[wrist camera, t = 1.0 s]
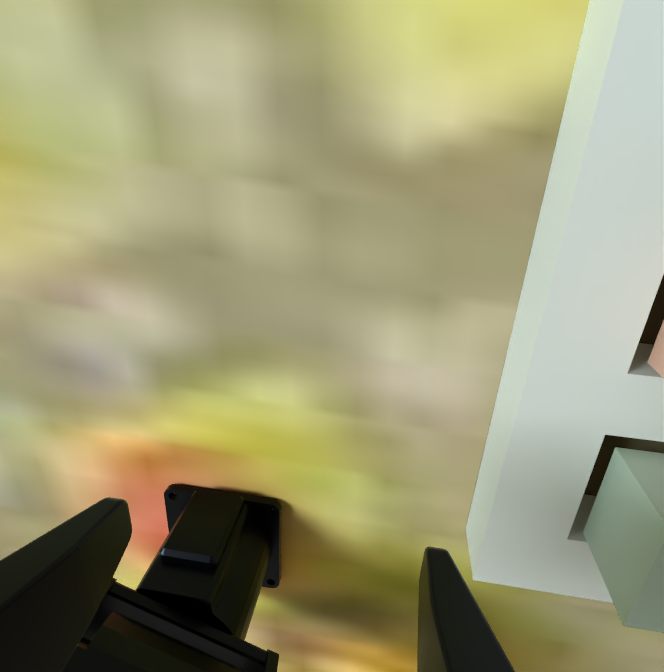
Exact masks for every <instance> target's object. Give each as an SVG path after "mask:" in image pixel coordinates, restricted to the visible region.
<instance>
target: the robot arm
mask: <svg viewBox="0 0 664 672" xmlns="http://www.w3.org/2000/svg"><path fill="white" fill-rule="evenodd" d="M174 493H175V494H174ZM164 498H165V505H166V513H167V521H168V528H169V534H168V536H167V538H166V539H165V541H164V543H163V544H162V546H161V548H160V550H159V551H158V553H157V555H156V556H155V558H154V560H153V561H152V563H151V565H150V567H149V568H148V570H147V572H146V573H145V575H144V577H143V578H142V580H141V582H140V584H139V585H138V587H137V589H136V590H133V589H131V588H129V587H126V586H124V585H122V584H120V583H118V582H116V580H117V579H115V578H113V575H114V573H115V571H116V569H117V567H118V565H119V562H120V560H121V558H122V556H123V554H124V552H125V550H126V547H127V545H128V543H129V541H130V538H131V534H132V525H131V519H130V514H129V508H128V504H127V502H126V501H125V500H123V499H117V498H110V497H109V498H105V499H102V500H101V501H99V502H97V503H96V504H94V505H92V506H91V507H89V508H87V509H86V510H84V511H82V512H81V513H79V514H77V515H76V516H74V517H72V518H71V519H69V520H67V521H66V522H64V523H62V524H61V525H59V526H57V527H56V528H54V529H52V530H51V531H49V532H47V533H46V534H44V535H42V536H41V537H39V538H37V539H36V540H34V541H32V542H30V543H29V544H27V545H25V546H24V547H22V548H20V549H19V550H17V551H15V552H14V553H12V554H10V555H9V556H7V557H5V558H4V559H2V560H0V672H277V666H278V659H279V654H278V653H275V652H273V651H271V650H269V649H268V650H267V651H265V650H263V649H261V648H259V647H257V646H255V645H252V644H250V643H248V642H246V641H244V640H245V637H246V634H247V631H248V628H249V624H250V621H251V618H252V615H253V612H254V609H255V606H256V602H257V599H258V596H259V593H260V590H261V587H262V586H263V587H268V588H276V587H278V586H279V582H280V579H281V504H280V503H279V502H278V501H277V500H274V499H270V498H263V497H256V496H250V495H243V494H237V493H230V492H223V491H217V490H210V489H204V488H197V487H191V486H184V485H177V484H171V485H169V486H168V488H167V489H166V491H165V492H164ZM270 508H272V509H273V510H272V509H270ZM418 672H515V671H514V669H513V667H512V666H511V664H510V662H509V660H508V658H507V657H506V655H505V653H504V651H503V649H502V648H501V646H500V644H499V642H498V640H497V639H496V637H495V635H494V633H493V631H492V630H491V628H490V626H489V624H488V622H487V621H486V619H485V617H484V615H483V613H482V612H481V610H480V608H479V606H478V604H477V603H476V601H475V599H474V597H473V595H472V594H471V592H470V590H469V588H468V586H467V585H466V583H465V581H464V579H463V577H462V576H461V574H460V572H459V570H458V568H457V567H456V565H455V563H454V561H453V559H452V558H451V556H450V554H449V552H448V551H447V550H445V549H441V548H434V547H427V548H426V549H425V551H424V556H423V562H422V567H421V573H420V579H419V607H418Z"/></svg>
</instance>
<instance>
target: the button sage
mask: <svg viewBox="0 0 664 672" xmlns="http://www.w3.org/2000/svg"><path fill="white" fill-rule="evenodd" d="M583 534H584V536H585V539H586V541H587V543H588V546H589V548H590V550H591V552H592V555H593V557H594V559H595V562H596V564H597V566H598V569H599V571H600V573H601V575H602V578H603V580H604V582H605V585H606V587H607V589H608V592H609V594H610V596H611V599H612V601H613V603H614V605H615V608H616V610H617V612H618V615H619V617H620V619H621V622H622V624H623V626H627V627H633V628H639V629H645V630H651V631H656V632H662V633H664V453H657V452H649V451H641V450H633V449H625V448H618V447H615V449H614V452H613V455H612V457H611V460H610V462H609V465H608V468H607V470H606V473H605V476H604V478H603V481H602V483H601V486H600V489H599V491H598V494H597V497H596V499H595V502H594V505H593V507H592V510H591V512H590V515H589V518H588V520H587V523H586V526H585V528H584V531H583Z"/></svg>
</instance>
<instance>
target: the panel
mask: <svg viewBox="0 0 664 672" xmlns="http://www.w3.org/2000/svg"><path fill="white" fill-rule="evenodd" d="M663 274H664V0H590V1H589V6H588V10H587V14H586V18H585V23H584V27H583V31H582V36H581V40H580V44H579V48H578V53H577V57H576V61H575V65H574V70H573V74H572V78H571V82H570V87H569V91H568V95H567V99H566V104H565V108H564V112H563V117H562V121H561V125H560V129H559V134H558V138H557V142H556V146H555V151H554V155H553V159H552V163H551V168H550V172H549V176H548V181H547V185H546V189H545V193H544V198H543V202H542V206H541V210H540V215H539V219H538V223H537V227H536V232H535V236H534V240H533V245H532V249H531V253H530V257H529V262H528V266H527V270H526V274H525V279H524V283H523V287H522V291H521V296H520V300H519V304H518V308H517V313H516V317H515V321H514V326H513V330H512V334H511V338H510V343H509V347H508V351H507V355H506V360H505V364H504V368H503V372H502V377H501V381H500V385H499V390H498V394H497V398H496V402H495V407H494V411H493V415H492V419H491V424H490V428H489V432H488V436H487V441H486V445H485V449H484V454H483V458H482V462H481V466H480V471H479V475H478V479H477V483H476V488H475V492H474V496H473V500H472V505H471V509H470V513H469V517H468V522H467V526H466V534H467V541H468V547H469V554H470V561H471V568H472V575H473V580H476V581H482V582H488V583H494V584H501V585H507V586H513V587H519V588H525V589H531V590H537V591H543V592H549V593H555V594H562V595H568V596H574V597H580V598H586V599H592V600H598V601H604V602H610V603H613V601H612V599H611V596H610V594H609V592H608V589H607V587H606V585H605V582H604V580H603V578H602V575H601V573H600V571H599V569H598V566H597V564H596V562H595V559H594V557H593V555H592V552H591V550H590V548H589V546H588V543H587V541H586V539H585V536H584V534H583V531H584V528H585V526H586V523H587V520H588V518H589V515H590V512H591V510H592V507H593V505H594V502H595V499H596V497H597V496H592V495H585V494H584V492H585V489H586V486H587V483H588V481H589V478H590V475H591V472H592V470H593V467H594V464H595V461H596V459H597V456H598V453H599V450H600V448H601V445H602V442H603V439H604V437H605V435H613V436H621V437H629V438H637V439H644V440H652V441H660V442H664V379H663V378H662V377H661V376H660V375H659V374H658V373H657V372H656V371H655V370H654V369H653V368H652V367H651V366H650V365H649V364H648V363H647V362H648V360H649V357H650V355H651V352H652V349H653V347H654V345H653V344H644V343H639V340H640V338H641V335H642V332H643V329H644V327H645V324H646V321H647V318H648V316H649V313H650V310H651V307H652V305H653V302H654V299H655V296H656V294H657V291H658V288H659V285H660V283H661V280H662V277H663Z"/></svg>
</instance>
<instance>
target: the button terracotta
mask: <svg viewBox="0 0 664 672" xmlns="http://www.w3.org/2000/svg"><path fill="white" fill-rule="evenodd" d="M647 363H648V364H649V365H650V366H651V367H652V368H653V369H654V370H655V371H656V372H657V373H658V374H659V375H660V376H661V377H662V378H663V379H664V320H663V323H662V326H661V328H660V331H659V333H658V336H657V339H656V341H655V344H654V347H653V349H652V352H651V355H650V357H649V360H648V362H647Z"/></svg>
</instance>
